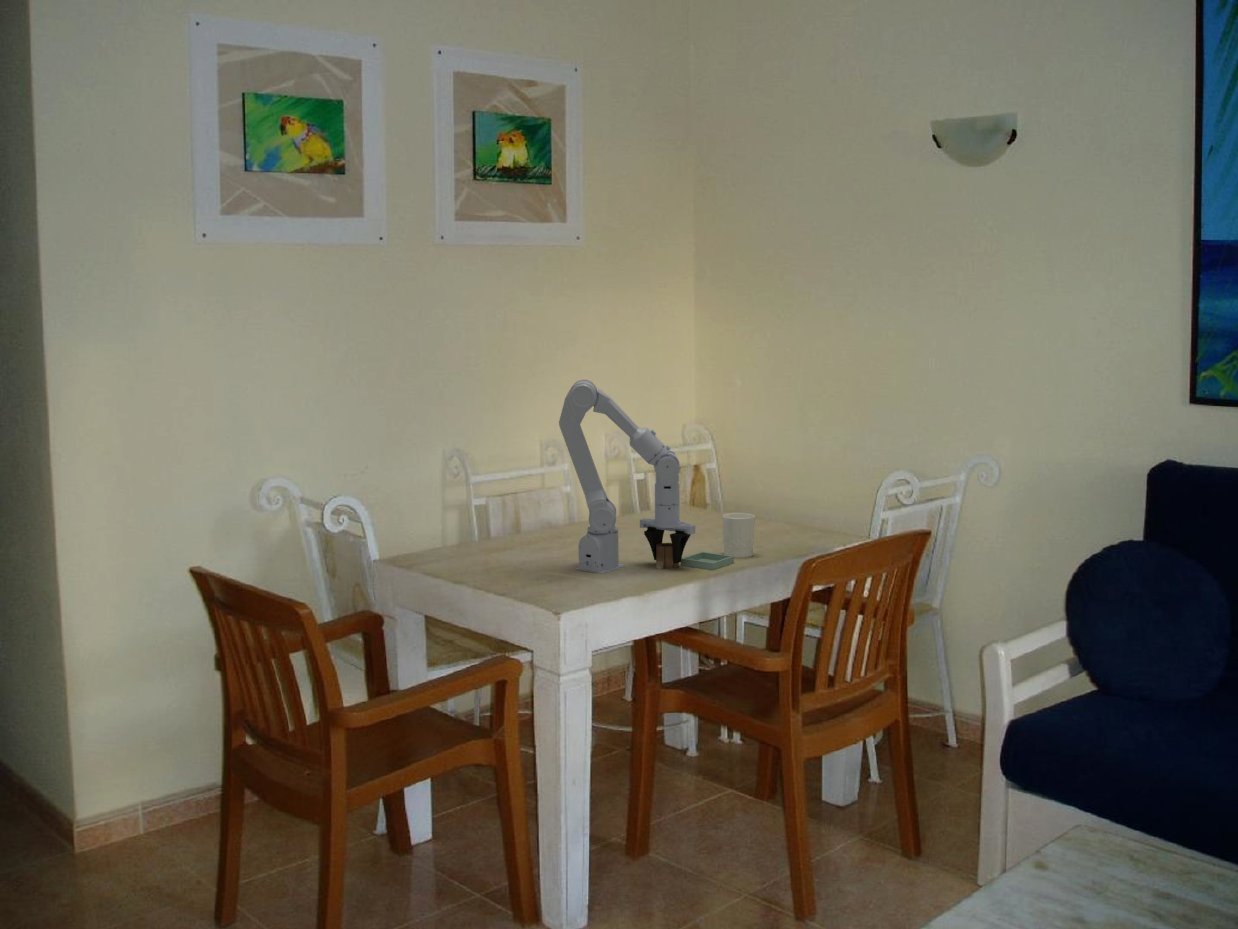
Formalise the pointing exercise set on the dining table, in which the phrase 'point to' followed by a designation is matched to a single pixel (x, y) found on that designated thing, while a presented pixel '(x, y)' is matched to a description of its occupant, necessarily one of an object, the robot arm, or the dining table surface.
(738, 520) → the white cup
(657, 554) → the brown hollow octagonal cylinder
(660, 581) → the dining table surface
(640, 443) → the robot arm
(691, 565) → the tray
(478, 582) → the dining table surface
